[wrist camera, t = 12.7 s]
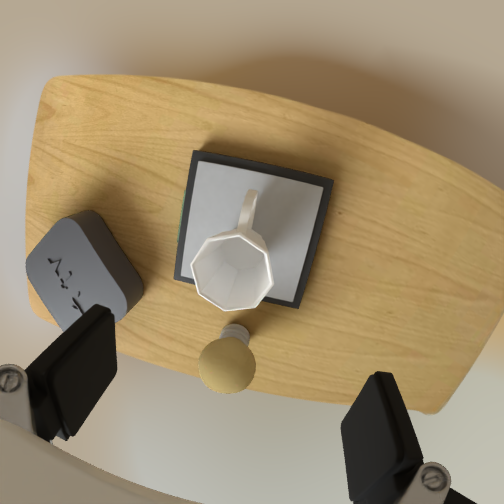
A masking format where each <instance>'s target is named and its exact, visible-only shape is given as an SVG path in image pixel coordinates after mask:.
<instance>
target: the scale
mask: <svg viewBox="0 0 504 504" xmlns="http://www.w3.org/2000/svg"><path fill="white" fill-rule="evenodd" d="M333 183H334V180H332V179H329V178H325V177H321V176H318V175H314V174H310V173H306V172H302V171H297V170H293V169H289V168H285V167H280V166H276V165H271V164H267V163H262V162H257V161H252V160H247V159H242V158H237V157H232V156H227V155H221V154H216V153H210V152H204V151H198V150H193V153H192V158H191V164H190V169H189V175H188V181H187V187H186V190H185V191H184V197H183V204H182V210H181V217H180V224H179V231H178V238H177V242H178V247H177V255H176V263H175V272H174V279H175V280H178V281H182V282H186V283H190V284H194V285H196V284H195V281H194V277H193V273H192V269H191V265H190V264H191V262H192V261H193V259H194V258H195V256H196V255H197V253H198V251H199V250H200V248H201V247H202V245H203V244H204V242H205V241H206V239H207V238H209V237H211V236H214V235H217V234H219V233H221V232H225V231H230V230H232V229H237V227H238V222H239V217H240V213H241V209H242V205H243V202H244V199H245V196H246V194H247V191H248V190H249V189H252V190H257V191H258V195H257V202H256V208H255V214H254V219H253V225H252V230H254V231H255V232H257V233H258V234H260V235H261V236H262V239H263V240H264V241H265V243H266V247H267V249H268V252H269V257H270V263H271V268H272V274H273V280H274V285H273V287H272V288H271V289H270V290H269V292H268V293H267V294H266V295H265V297H264V298H263V299H262V300H261V301H264V302H269V303H273V304H278V305H282V306H287V307H292V308H296V309H299V306H300V303H301V300H302V296H303V293H304V290H305V286H306V283H307V280H308V276H309V273H310V269H311V266H312V263H313V259H314V256H315V252H316V248H317V245H318V241H319V237H320V234H321V230H322V226H323V223H324V219H325V215H326V211H327V207H328V203H329V199H330V195H331V191H332V187H333Z"/></svg>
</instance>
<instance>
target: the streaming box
mask: <svg viewBox="0 0 504 504" xmlns="http://www.w3.org/2000/svg"><path fill="white" fill-rule="evenodd" d="M26 272H27V276H28V278H29V280H30V282H31V284H32V286H33V287H34V289H35V290H36V292H37V294H38V295H39V297H40V298H41V300H42V301H43V303H44V305H45V306H46V308H47V309H48V311H49V312H50V313H51V315H52V316H53V318H54V319H55V321H56V322H57V324H58V325H59V326H60V328H61V329H62V331H63V332H64V331H65V330H67V329H68V328H69V327H70V326H71V325H72V324H73V323H74V322H75V321H76V320H77V319H78V318H80V317H81V316H82V315H83V314H84V313H85V312H86V311H87V310H88V309H90V308H91V307H92V306H93V305H94V304H99V305H102V306H105V307H108V308H110V309H111V313H113V314H114V316H115V323H116V322H118V321H119V320H121V319H122V318H123V317H124V316H125V315H126V314H127V313H128V312H129V311H130V310H131V309H132V308H133V307H134V306H135V305H136V304H137V303H138V301H139V300H140V299H141V297H142V295H143V284H142V281H141V279H140V277H139V275H138V274H137V272H136V271H135V269H134V268H133V266H132V265H131V263H130V262H129V260H128V259H127V257H126V256H125V254H124V253H123V251H122V250H121V248H120V247H119V245H118V244H117V242H116V241H115V239H114V238H113V236H112V234H111V233H110V231H109V230H108V228H107V226H106V225H105V223H104V221H103V220H102V218H101V217H100V216H99V215H98V214H97V213H95V212H93V211H89V210H88V211H83V212H80V213H77V214H74V215H71V216H68V217H65V218H62V219H60V220H59V221H57V222H56V224H55V225H54V226H53V227H52V228H51V229H50V230H49V232H48V233H47V234H46V235H45V236H44V237H43V239H42V240H41V241H40V242H39V243H38V244H37V246H36V247H35V248H34V249H33V251H32V252H31V253H30V254H29V256H28V257H27V259H26Z"/></svg>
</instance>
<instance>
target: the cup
mask: <svg viewBox="0 0 504 504" xmlns="http://www.w3.org/2000/svg"><path fill="white" fill-rule="evenodd" d="M257 195H258V191H257V190H252V189H249V190H248V191H247V194H246V196H245V199H244V202H243V205H242V209H241V213H240V217H239V222H238V227H237V229H232V230H230V231H225V232H221V233H219V234H217V235H214V236H211V237H209V238H207V239H206V241H205V242H204V244H203V245H202V247H201V248H200V250H199V251H198V253H197V255H196V256H195V258H194V259H193V261H192V262H191V264H190V265H191V269H192V273H193V277H194V281H195V284H196V288H197V292H198V294H199V295H200V296H202V297H203V298H205V299H206V300H208V301H209V302H211V303H212V304H214V305H215V306H217V307H219V308H220V309H222V310H223V311H233V310H242V309H250V308H256V307H257V305H258V304H259V303H260V302H261V300H262V299H263V298H264V297H265V295H266V294H267V293H268V292H269V290H270V289H271V288H272V287H273V285H274V280H273V274H272V268H271V263H270V257H269V252H268V249H267V247H266V243H265V241H264V240H263V239H262V236H261V235H260V234H258V233H257V232H255V231H254V230H252V225H253V219H254V214H255V208H256V202H257Z"/></svg>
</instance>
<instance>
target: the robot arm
mask: <svg viewBox="0 0 504 504" xmlns="http://www.w3.org/2000/svg"><path fill="white" fill-rule="evenodd" d="M116 372H117V356H116V339H115V316H114V314H113V313H111V309H110V308H108V307H105V306H102V305H99V304H94V305H93V306H92V307H91V308H90V309H88V310H87V311H86V312H85V313H84V314H83V315H82V316H81V317H80V318H78V319H77V320H76V321H75V322H74V323H73V324H72V325H71V326H70V327H69V328H68V329H67V330H65V331H64V332H63V333H62V334H61V335H60V336H59V337H58V338H57V339H56V340H55V341H54V342H53V343H52V344H51V345H50V346H49V347H48V348H47V349H46V350H44V351H43V352H42V353H41V354H40V355H39V356H38V357H37V358H36V359H35V360H34V361H33V362H32V363H31V364H30V365H29V366H28V367H27V368H26V369H25V370H23V369H22V368H21V367H19V366H17V365H14V364H5V365H1V366H0V504H202V503H197V502H193V501H189V500H186V499H182V498H179V497H175V496H172V495H168V494H165V493H162V492H158V491H156V490H153V489H150V488H146V487H144V486H141V485H138V484H136V483H133V482H130V481H128V480H125V479H123V478H120V477H118V476H115V475H113V474H111V473H108V472H106V471H104V470H102V469H99V468H97V467H95V466H93V465H91V464H89V463H87V462H85V461H83V460H81V459H79V458H77V457H74V456H73V455H70V454H69V453H67V452H65V451H63V450H61V449H59V448H58V447H56V446H54V445H53V443H52V440H53V439H54V437H55V436H58V437H60V438H62V439H63V440H65V441H67V440H68V439H69V437H70V436H75V435H76V433H77V432H78V430H79V429H80V427H81V426H82V424H83V423H84V421H85V420H86V418H87V417H88V415H89V414H90V412H91V411H92V409H93V408H94V406H95V405H96V403H97V402H98V400H99V399H100V397H101V396H102V394H103V393H104V391H105V390H106V389H107V387H108V386H109V384H110V383H111V381H112V380H113V378H114V377H115V375H116ZM341 435H342V442H343V449H344V457H345V465H346V473H347V482H348V489H349V498H350V500H351V501H353V504H477V503H475V502H473V501H472V500H470V499H468V498H466V497H465V496H463V495H462V494H460V493H458V492H456V491H455V490H453V489H452V488H450V485H451V476H450V474H449V472H448V470H447V469H446V468H445V467H444V466H442V465H441V464H439V463H436V462H428V463H425V464H424V462H423V455H422V451H421V448H420V445H419V443H418V440H417V437H416V434H415V431H414V429H413V426H412V423H411V420H410V417H409V415H408V412H407V409H406V407H405V404H404V402H403V399H402V396H401V394H400V391H399V389H398V386H397V384H396V381H395V379H394V376H393V374H392V373H389V372H380V371H377V372H375V373H374V375H370V376H369V378H368V380H367V381H366V383H365V385H364V387H363V388H362V390H361V392H360V393H359V395H358V397H357V398H356V400H355V402H354V403H353V405H352V406H351V408H350V410H349V411H348V413H347V414H346V416H345V418H344V419H343V421H342V423H341Z"/></svg>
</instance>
